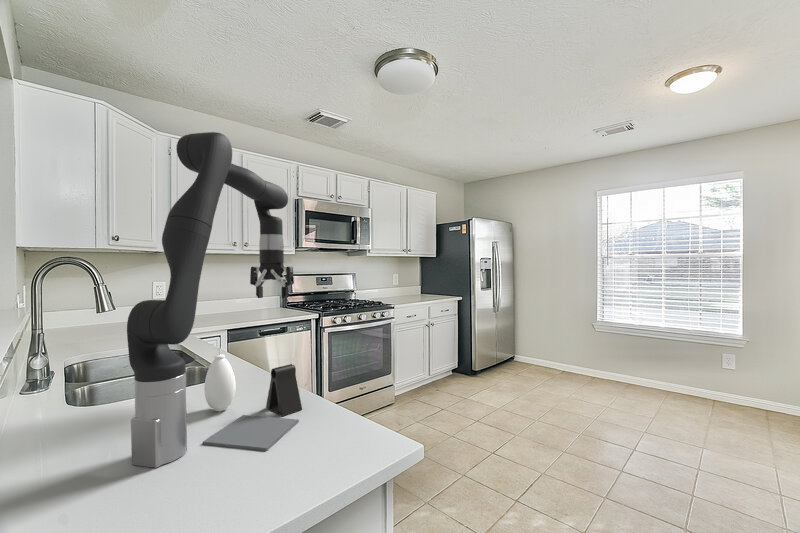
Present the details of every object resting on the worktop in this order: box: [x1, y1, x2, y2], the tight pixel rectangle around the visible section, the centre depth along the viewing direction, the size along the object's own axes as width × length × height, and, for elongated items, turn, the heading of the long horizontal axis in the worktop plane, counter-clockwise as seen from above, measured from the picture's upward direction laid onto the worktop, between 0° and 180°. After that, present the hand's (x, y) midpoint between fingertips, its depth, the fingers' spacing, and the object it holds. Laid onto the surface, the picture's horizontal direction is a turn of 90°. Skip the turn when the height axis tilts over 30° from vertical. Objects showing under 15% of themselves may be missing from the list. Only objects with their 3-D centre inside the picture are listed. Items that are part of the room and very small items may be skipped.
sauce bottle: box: [203, 345, 237, 413], centre depth 105 cm, size 8×8×18 cm
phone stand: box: [265, 363, 303, 418], centre depth 105 cm, size 9×6×12 cm, turn 47°
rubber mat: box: [202, 414, 300, 452], centre depth 91 cm, size 15×16×1 cm
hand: (272, 298), depth 124 cm, fingers open, 8 cm apart
